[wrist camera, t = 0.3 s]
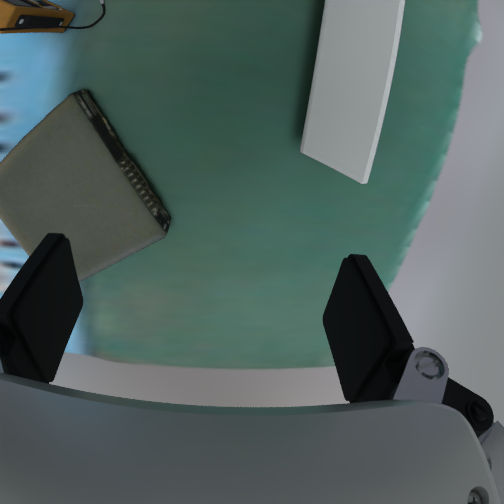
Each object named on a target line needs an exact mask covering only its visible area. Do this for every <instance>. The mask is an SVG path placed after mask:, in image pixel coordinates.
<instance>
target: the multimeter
mask: <svg viewBox="0 0 504 504" xmlns="http://www.w3.org/2000/svg"><path fill="white" fill-rule="evenodd" d="M100 3H101V4H102V7H103V14H102V16H101V17H100V18H99V19H98V20H97V21H96V22H94V23H93V24H91V25H89V26H85V27H71V26H68V24H69V22H70V21H71V19H72V18H73V16H74V13H72V12H70V11H68V10H66V9H64V8H62V7H60V6H58V5H55V4H53V3H51V2H49V1H47V0H0V33H2V34H3V33H30V32H55V33H63V32H64V30H65V29H66V28H69V29H85V28H89V27H92V26H93V25H95V24H96V23H97V22H98V21H100V20H101V19H102V18H103V16H104V14H105V6H104V0H100Z"/></svg>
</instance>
